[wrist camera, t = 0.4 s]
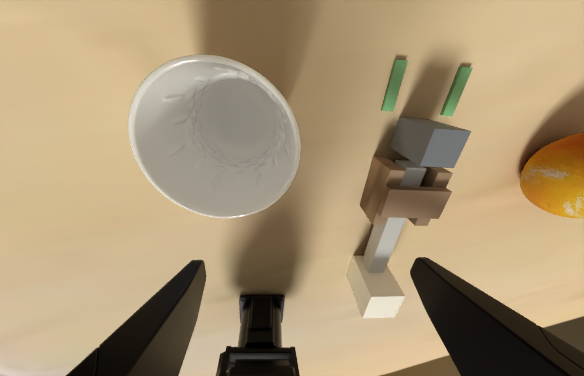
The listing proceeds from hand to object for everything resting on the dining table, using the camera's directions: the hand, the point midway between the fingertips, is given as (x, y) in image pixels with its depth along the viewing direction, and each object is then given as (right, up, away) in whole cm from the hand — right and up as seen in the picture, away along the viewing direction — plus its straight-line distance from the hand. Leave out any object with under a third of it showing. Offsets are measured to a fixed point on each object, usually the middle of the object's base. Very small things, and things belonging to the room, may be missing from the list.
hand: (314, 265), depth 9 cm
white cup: (-5, +10, +10) cm, 15 cm away
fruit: (+28, +6, +15) cm, 32 cm away
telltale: (+11, +9, +12) cm, 18 cm away
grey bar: (+10, -2, +17) cm, 20 cm away
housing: (+11, +8, +12) cm, 18 cm away
